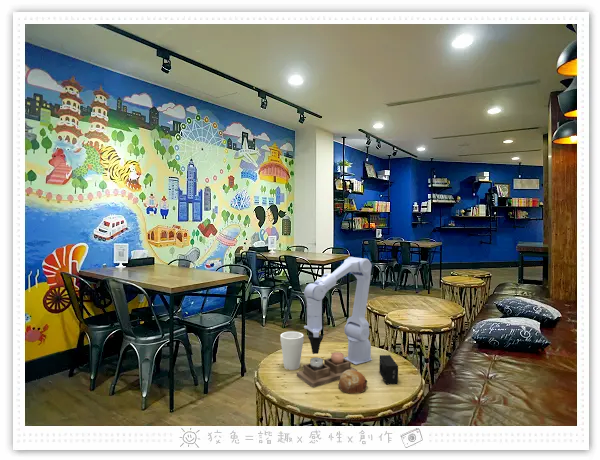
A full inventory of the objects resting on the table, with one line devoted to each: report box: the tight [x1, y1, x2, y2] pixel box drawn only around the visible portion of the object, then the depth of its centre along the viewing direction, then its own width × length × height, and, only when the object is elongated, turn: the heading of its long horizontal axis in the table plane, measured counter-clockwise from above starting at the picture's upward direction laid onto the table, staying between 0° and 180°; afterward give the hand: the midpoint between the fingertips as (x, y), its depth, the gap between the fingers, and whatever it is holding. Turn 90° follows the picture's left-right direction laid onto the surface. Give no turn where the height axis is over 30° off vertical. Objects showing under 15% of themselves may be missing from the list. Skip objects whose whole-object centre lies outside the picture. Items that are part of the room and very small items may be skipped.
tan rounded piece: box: [330, 351, 345, 365], centre depth 139 cm, size 5×5×3 cm
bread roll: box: [337, 369, 368, 394], centre depth 127 cm, size 10×10×8 cm
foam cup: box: [279, 331, 305, 371], centre depth 144 cm, size 10×9×13 cm
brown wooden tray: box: [296, 357, 358, 389], centre depth 137 cm, size 21×11×4 cm, turn 123°
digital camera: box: [378, 354, 399, 385], centre depth 134 cm, size 10×5×7 cm, turn 2°
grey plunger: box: [309, 357, 324, 370], centre depth 134 cm, size 5×5×3 cm
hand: (314, 349), depth 137 cm, fingers open, 7 cm apart
